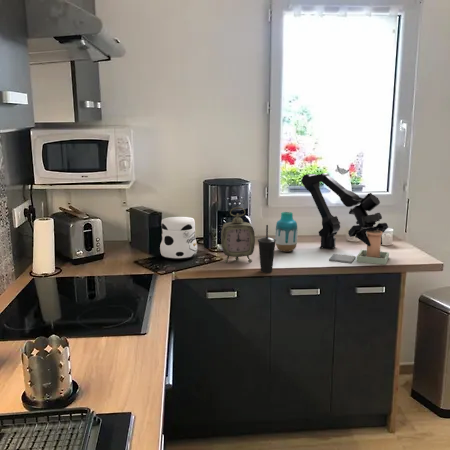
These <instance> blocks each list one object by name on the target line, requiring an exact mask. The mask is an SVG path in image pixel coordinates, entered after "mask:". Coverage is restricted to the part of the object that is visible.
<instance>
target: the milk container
mask: <svg viewBox="0 0 450 450" xmlns="http://www.w3.org/2000/svg"><path fill="white" fill-rule="evenodd" d="M195 221H196V220H195V218H193V217H190V216H169V217H165V218H162V219H161V226H160V227H161V229H160V230H161V231H160V232H161V242H160V245H159V246H160V247H159V250H160V251H159V252H160V254H161V256H162V257H163V258H165V259H168V260H174V261H175V260H176V261H177V260H179V261H181V260H187V259H192V258H194V257H195V256H196V255H197V254H198V253H197V252H198V243H197V240H196V222H195Z"/></svg>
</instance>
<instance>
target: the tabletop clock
mask: <svg viewBox="0 0 450 450" xmlns="http://www.w3.org/2000/svg"><path fill="white" fill-rule="evenodd" d="M234 210H241V211H244V213H242V214H240V213H236V214H233V213H232V211H234ZM229 214H230V216H233V218H232V220H231V221H230V222H229V221H228V222H226V223H223V225H222V227H221V234H220V239H221V240H220V241H221V248H222V250H223V253H224V256H226V259H224V264H228V262H229V257H230V258H231V257H234V258H235V261H239V259H240V257H246V258H247V259H248V260H247V262H248V263H252V259H251V258H250V256H251V255H253V253H254V251H255V246H256V245H255V243H256V237H255V229H254V226H252V224H251V223H249V222H246V221H244V220H243V218H241V217H243V216H244V215H246V209H244V208H243V207H240V206H239V207H238V206H236V207H233V208H231V209H230V211H229Z"/></svg>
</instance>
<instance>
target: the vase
mask: <svg viewBox="0 0 450 450" xmlns="http://www.w3.org/2000/svg"><path fill="white" fill-rule="evenodd" d="M293 216H294V215H293V212H292V211H282V212H281V213H280V219H279V220H277V222H276V224H275V235H274V237H275V238H274V239H276V242H275V247H276V248H277V250H279V251H281V252H284V253H287V252H293V251H295V249H296V247H297V245H298V230H299V229H298V222H297V221H296V220H294V218H293Z"/></svg>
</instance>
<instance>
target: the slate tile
mask: <svg viewBox="0 0 450 450" xmlns="http://www.w3.org/2000/svg"><path fill="white" fill-rule="evenodd" d="M355 258H356V255H350V254H341V253H340V254H338V253H333V254H332V255H331V256H330V258H329V259H328V261H329V262H337V263H344V264H347V263H348V264H352V263H353V261H354V260H355Z"/></svg>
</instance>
